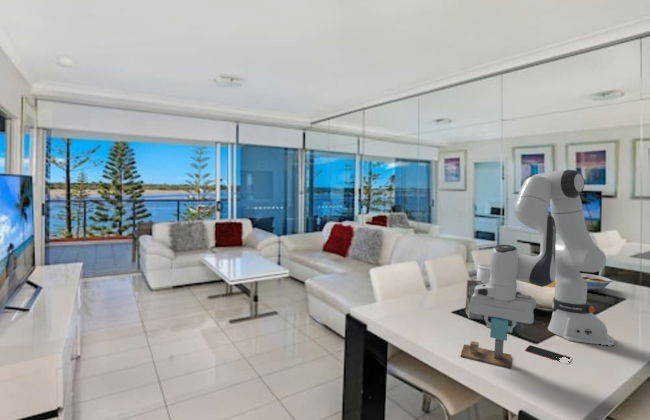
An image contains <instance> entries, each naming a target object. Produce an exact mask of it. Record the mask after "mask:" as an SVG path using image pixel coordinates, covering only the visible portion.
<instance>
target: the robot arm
mask: <svg viewBox="0 0 650 420" xmlns="http://www.w3.org/2000/svg"><path fill="white" fill-rule="evenodd" d="M584 188H585V178H584V176H583V175H582V173H580V172H579V171H578V170H577V169H576V170H575V169H566V170H551V171H550V170H549V171H546V172H545V171H544V172H540V173H537V174H535V173H534V174H529V175H527V176H525V177H524V178H523V179H522V181H521V184H520V189H519V191H518V194H517V196H516V200H515V203H514V208H513V212H514V216H515V218H516V219H517V220H518V221H519V222H520V223H521V224H523V225H525V226H527V227H528V228H531V229H533V230H535V231H537V232H538V233H540V244H539V245H540V246H539V254H538V255H530V254H522V253H520V252H518V248H517V247H516V246H514V245H510V244H498V245H496V246H493V248H492V251H491V254H490V255H491V256H490V262H489V265H490V279H489V284H481V285H477V286H476V287H475V290H474V291H475V293H474V294H473V296H472V298H471V302H470V307H469V310H470V312H471V313H474V314H480V315H483V319H484V322H485V324H486V329H490V330H491V321H490V320H489V317H490V318H492V317H495V318H501V319H506V320H508V321H511V325H508V332H507V333H510V334H512V333H513V329H514V328H515V327H516V326H517V322H519V323H522V324H526V325H527V324H529V325H531V324H533V323H534V318H535V317H534V315H535V314H534V309H536V307H537V300H536V299H535V298H533V297H532V296H530V295H524V294H520V293H517V289H518V287H517V286H518V283H517V281H519V282H524V283H529V284H531V285H535V286H538V287H541V288H543V287H547V286H549V285H551V284H552V283H554V296H553V298H552V304H551V305H552V306H551V307H552V314H551V319H550V321H549V324H548V326H547V330H548V331H549V332H551V333H552V334H554V335H556V336H559V337H562V338H564V339H566V341H570V342H576V343H585V344H593V345H599V344H601V345H600V346H606V345H608V346H607V347H613V346H615V340H614V337H612V336H611V335H610V334H609V333H608V328H607V326H606V324H605V323H604V321H602V320H601V319H600V318H598V317H597V315H595V314H594V312H595V311H596V309H595V307H594V306H593V305H591V303H589V302H587V297H588V290H587V283H586V282H585V280H584V279H583V278H582V276H581V274H580V273H581V272H583V273H598V272H600V271H601V270H603V269H604V268H605V266H606V264H607V255H606V254H605V252H603V250H602V249H601V248H599V247H598V245H597V244H596V243H595V242H594V240H593V238H592V237H591V235H590V233H589V231H588V228H587V225H586V219H585V214H584V208H583V203H582V202H583V201H582V198H581V195H580V194H582V192H583V191H584ZM549 207H550V208H549ZM549 209H550V213H549ZM556 235H558V236H559V237H560V239H557V238H556V237H557V236H556ZM556 239H557V240H556ZM612 345H613V346H612Z"/></svg>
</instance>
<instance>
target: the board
mask: <svg viewBox="0 0 650 420" xmlns="http://www.w3.org/2000/svg"><path fill="white" fill-rule="evenodd" d="M479 346H480V345H479V342H478V341H473V340H470V345H469V344H465V343H464V344H463V347H462V349H461V353H460V358H465V359H469V360H474V361H478V362H481V363H486V364H490V365H494V366H498V367H503V368H507V369H510V370H511V369H512V354H509V353H505V352H503V358H502V360H499V359H495V358H494V352H495V350H491V349H487V348H484V347H483V348H482V347H479Z"/></svg>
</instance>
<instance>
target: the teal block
mask: <svg viewBox="0 0 650 420" xmlns="http://www.w3.org/2000/svg"><path fill="white" fill-rule="evenodd" d="M490 319H491V320H490V322H491V329H490V331H489V332H490V334H489V335H490V336H489V337H490V338H491V339H501V340H504V341H506V342H507V341H508V333H509V332H508V326H509V320H506V319H501V318H495V317H490Z"/></svg>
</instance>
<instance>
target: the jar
mask: <svg viewBox="0 0 650 420" xmlns="http://www.w3.org/2000/svg"><path fill="white" fill-rule="evenodd" d="M477 268H478V269H477V273H476V279H477V280H476V281H481V282H482V283H483V284H489V279H490V264H481V263H480V264H477Z"/></svg>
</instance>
